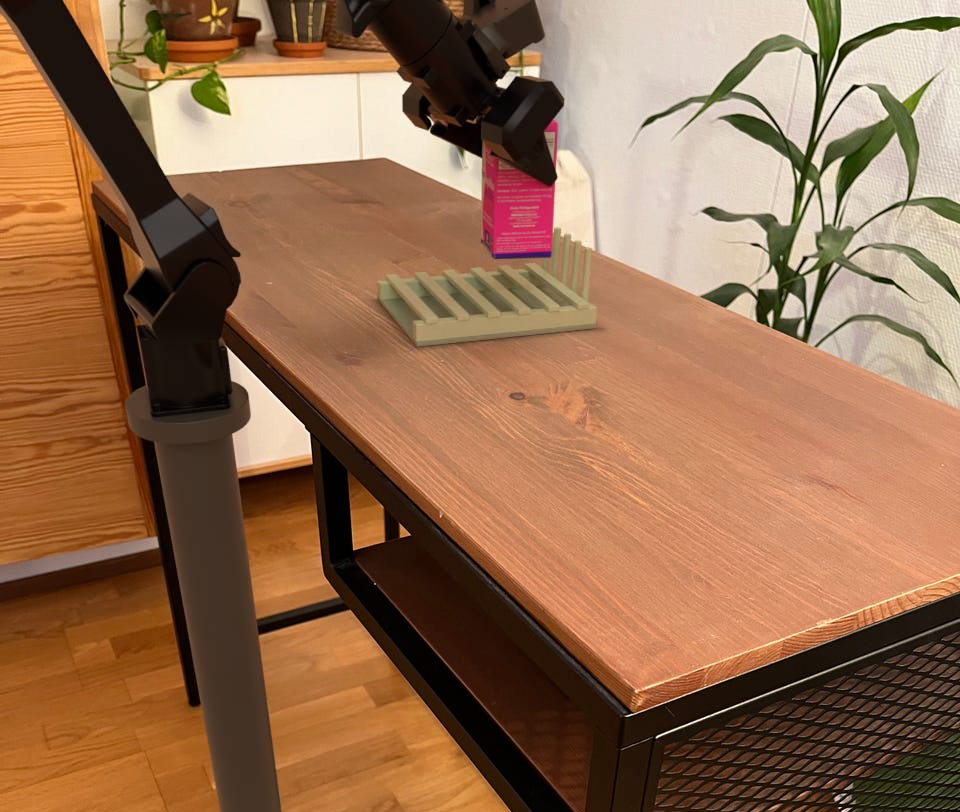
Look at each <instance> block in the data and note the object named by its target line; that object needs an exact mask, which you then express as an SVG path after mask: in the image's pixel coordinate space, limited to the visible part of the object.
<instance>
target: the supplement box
mask: <svg viewBox="0 0 960 812" xmlns="http://www.w3.org/2000/svg"><path fill="white" fill-rule="evenodd" d="M484 117H485V116H483V118H484ZM544 133H545V137H546V141H547V144H548V148H549V151H550V154H551V157H552V160H553V163H554V166H555V169H556V170H557V159H558V154H557V153H558V137H559V122H558V121H557V120H555V118H554V119H553V120H552V122H551V123H550V124H549V126H548V127H547V128H546V129H545V131H544ZM491 151H492V150H491V149H489V148H488V147H487V145H486V144H485V143H484V142H483V140H482V158H481V201H480V202H481V203H480V205H481V206H480V207H481V210H480V211H481V213H480V244H482V245H483V246H484V247H485V248H486V250H487V251H488V253H489V254H490V255H491V258H492V259H493V260H522V259H523V260H524V259H543V258H549V259H552V256H553V239H554V219H555V218H554V217H555V216H554V214H555V196H556V181H555V182H554V184H553V185H552V186H551V187H549V186H547V185H545V184H543V183H541V182H539V181H537V180H535V179H533V178H531V177H529V176H528V175H526V174H524V173H522V172H520V171H518V170H516V169H515V168H513V167H511V166H509V165H507V164H505V163H503V162H501V161H499V160H497V159H496V158H494V157H492V156H490V155H489V154H490V152H491Z"/></svg>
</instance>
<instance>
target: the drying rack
mask: <svg viewBox="0 0 960 812" xmlns="http://www.w3.org/2000/svg"><path fill="white" fill-rule="evenodd" d="M561 237H562V228H561V227H553V239H552V257H551V261H552V262H551V272H550V258H542V264H541V265H542V266H540V265H538V264H537V263H536V262H527V263H524V265H523V268H518V269H517V268H516V269H514V268H513V267H512V266H510V265H509V264H503V265H502V264H501V265H497V268H496V269H497V270H495V271H494V270H491V271H487V270H485V269H484V268H483V267H481V266H479V267H470V269H469V273H468V272H467V273H458V272H457V271H456V270H455V269H443V270H442V275H433V276H431V275H430V274H429V273H427V272H426V271H417V272H415V271H414V274H413V275H414V277H409V278H407V277H406V278H402V277H400V276H399V274H398V273H392V274H385V280H377V301H378V302H379V303H380V304H381V306H382V307H383V309H384V310H385V311H386V312H387V313H388V315H390V317H391V318H392V319H393V320H394V321H395V322H396V324H397V325H398V326H399V327H400V329H401V330H402V331H403V333H405V335H407V337H408V338H409V339H410V340H411V342H412V343H413V344H414V345H415V347H417V348H418V347H428V346H438V345H446V344H457V343H469V342H476V341H485V340H486V341H487V340H497V339H505V338H515V337H524V336H534V335H535V336H536V335H544V334H554V333H555V334H556V333H564V332H573V331H574V332H575V331H583V330H593V329H596V328H597V316H598V307H597V306H596V305H595V304H593V303H590V302H589V296H590V284H591V271H592V259H593V248H592V247H589V246H588V247H585V248H584V254H583V255H584V257H583V268H582V270H583V271H582V282H581V283H582V284H581V294H580V295H581V296H580V295H579V284H580V283H579V282H580V281H579V280H580V270H581V269H580V268H581V255H582V244H583V243H582V241H581V240H574V241H573V254H572V269H571V271H572V272H571V282H570V288H569V275H570V273H569V272H570V260H571V259H570V257H571V246H572V245H571V244H572V234H570V233H565V234H563V244H562V245H563V246H562V260H561V276H560V277H561V278H560V280H559V271H560V270H559V268H560V256H561V255H560V254H561ZM549 272H550V273H549Z"/></svg>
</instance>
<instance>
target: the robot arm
mask: <svg viewBox="0 0 960 812" xmlns="http://www.w3.org/2000/svg"><path fill="white" fill-rule="evenodd" d="M334 1H335V8H336V11H335V12H336V13H335V19H334V20H335V22H334V30H335V32H336V33H337V34H338V35H341V36H345V37H349V38H354V39H359V38H360V37H361V36H362V35H363V33H364V32H365V31H366V30H367V28H368V29H369V30H370V32H371V33H372V34H373V35H374V36H375V37H376V39H377V40H378V42H379V43H380V44H381V45H382V46H383V47H384V49H385V50H386V51H387V52H388V53H389V55H390V56H391V57H392V58H393V59H394V60H395V62H396V63H397V64H398V66H399V67H398V68H397V70H396V73H397V75H398V76H399V77H400V78H401V79H402V81H404V82H407V83H409V86H408V87H407V89H406V90H405V91H404V93H403V94H402V95H401V103H402V104H401V107H402V109H401V110H402V113H403V114H404V115H405V116H406V117H407V119H408V120H409V121H410V122H411V124H413V126H414V127H416V128H419V129H422V130H424V131H427V132H429V133H430V134H431V135H432V136H434V137H436V138H438V139H441V140H443V141H445V142H447V143H449V144H451V145H453V146H455V147H457V148H459V149H461V150H463V151H465V152H468V153H469V154H472V155H473V156H476V157H478V158H480V159H482V140H483V142H484V143H485V144H486V145H487V147H488V148H489V149H491V150H492V151H491V152H490V154H489V155H490V156H492V157H494V158H496V159H497V160H499V161H501V162H503V163H505V164H507V165H509V166H511V167H513V168H515V169H516V170H518V171H520V172H522V173H524V174H526V175H528V176H529V177H531V178H533V179H535V180H537V181H539V182H541V183H543V184H545V185H547V186H549V187H551V186H552V185H553V184H554V182H555V183H556V181H557V180H558V178H559V176H558V172H557V168H556V169H555V166H554V163H553V160H552V157H551V154H550V151H549V148H548V144H547V141H546V137H545V133H544V131H545V129H546V128H547V127H548V126H549V124H550V123H551V122H552V120H553V119H554V120H555V118H556V117H557V116H558V114H559V113H560V111H562V109H563V108H564V107H565V97H564V96H563V94H562V93H561V91H560V90H559V88H558V87H557V86H556V85H555V83H554V81H553V80H549V79H545V78H540V77H537V76H533V75H516V76H514V78H513V79H512V81H511V82H510V83H509V84H508V85H507V87H506V88H505V87H501V86H499V85H498V84H497V82H498V81H499V80H503V79H504V77H505V76H506V75H507V74H508V72H509V71H510V70H511V68H512V67H511V66H510V64H509V63H508V61H507V60H508V59H510V58H511V57H513V56H515V55H516V54H518V53H521V51H523V50H524V49H526V48H527V47H529V46H531V45H532V44H538V43H540V42H541V41H543V40H544V39H545V37H546V33H545V29H544V26H543V22H542V19H541V16H540V15H541V14H540V12H539V8H538V5H537V2H536V0H463V12H462V16H461V17H458V16H456V14H455V13H454V12H453V10H452V9H451V7H450V6H449V5H448V4H447V3H446V1H445V0H334ZM0 15H1V16H2V17H3V19H4V20H5V21H6V23H7V24H8V26H9V27H10V29H11V30H12V32H13V34H14V35H15V36H16V38H17V41H18V42H19V43H20V45H21V46H22V48H23V50H25V51H24V52H26V54H27V56H28V57H29V58H30V61H31V62H32V64H33V65H34V66H35V68H36V70H37V71H38V73H39V74H40V76H41V79H42V80H43V81H44V83H45V84H46V85H47V87H48V88H49V90H50V92H51V94H52V95H53V97H54V98H55V100H56V101H57V103H58V105H59V107H60V108H61V110H62V112H64V113H63V114H64V115H65V116H66V118H67V119H68V120H69V122H70V124H71V125H72V127H73V129H74V130H75V132H76V134H77V135H78V136H79V137H80V140H81V141H82V143H83V144H84V146H85V148H86V149H87V151H88V152H89V154H90V155H91V157H92V158H93V161H94V162H95V164H96V165H97V167H98V169H99V170H100V171H101V173H102V174H103V177H104V178H105V179H106V181H107V182H108V184H109V186H110V188H111V189H112V190H113V192H114V194H115V195H116V197H117V198H118V200H119V201H120V203H121V205H122V208H123V210H124V212H125V215H126V218H127V221H128V225H129V228H130V231H131V234H132V237H133V240H134V243H135V246H136V247H137V250H138V253H139V255H140V257H141V260H142V262H143V264H144V267H143V268H142V270H141V271H140V272H139V273H138V275H137V276H136V277H135V279H134V280H133V282H132V283H131V284H130V285H129V287H128V288H127V289H126V291H125V292H124V294H123V299H124V301H125V303H126V305H127V306H128V308H129V310H130V312H131V313H132V315H133V317H134V318H135V319H136V320H138V321H139V322H140V323H141V324H138V325H136V326H135V329H136V337H137V340H138V347H139V352H140V353H139V354H140V358H141V363H142V368H143V376H144V381H145V385H144V386H145V391H146V396H147V400H148V405H149V409H150V413H151V416H152V417H164V416H173V415H181V414H190V413H199V412H208V411H216V410H225V409H229V408H230V407H231V405H230V400H229V398H228V395H230V394H231V393H232V392H233V390H232V382H231V381H232V375H231V374H232V373H231V368H230V367H231V366H230V359H229V352H228V347H227V345H226V342H225V339H224V338H222V333H223V328H224V324H225V320H226V314H227V310H228V309H229V308H230V307H231V306H232V305H233V304H234V301H235V300H236V298H237V296H238V294H239V289H240V285H242V284H241V283H242V276H241V272H240V270H239V267H238V264H237V262H236V260H235V259H234V258H240V257H241V256H242V254H241V252H240V251H239V250H238V249H236V248H235V247H234V246H233V245H232V244H231V242H230V241H229V240H228V238H227V236H226V234H225V232H224V229H223V227H222V224H221V221H220V219H219V216H218V214H217V213H216V210H215V208H213V207H212V206H211V205H209V204H208V203H206V202H205V201H203V200H202V199H201V198H200V197H197V195H194V194H193V193H192V192H190V191H189V192H187V193H186V194H185V195H184V196H183V197H181V196H180V195H179V194H178V193H177V191H176V190H175V189H174V188H173V186H172V184H171V182H170V181H169V179H168V177H167V175H166V174H165V172H164V170H163V169H162V167H161V165H160V164H159V162H158V160H157V159H156V156H155V154H153V151H152V150H151V148H150V146H149V145H148V143H147V141H146V140H145V138H144V135H142V132H141V131H140V129H139V128H138V125H137V124H136V122H135V120H134V119H133V117H132V116H131V114H130V112H129V111H128V109H127V106H125V104H124V102H123V101H122V98H121V97H120V95H119V94H118V92H117V89H116V88H115V86H114V85H113V83H112V82H111V80H110V78H109V77H108V74H107V73H106V72H105V70H104V67H103V66H102V65H101V63H100V61H99V59H98V58H97V56H96V54H95V53H94V51H93V49H92V47H91V46H90V44H89V42H88V40H87V39H86V37H85V35H84V33H83V32H82V30H81V28H80V27H79V25H78V24H77V22H76V20H75V18H74V17H73V15H72V13H71V11H70V10H69V8H68V6H67V4H66V3H65V2H64V0H0ZM483 116H485V117H484V118H483ZM432 122H433V124H432Z"/></svg>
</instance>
